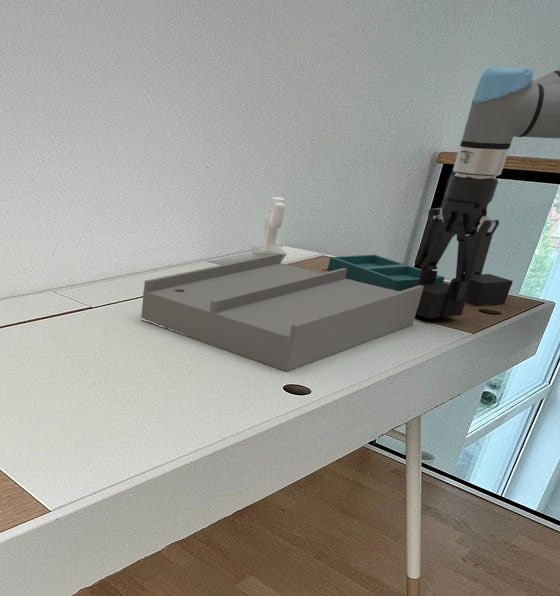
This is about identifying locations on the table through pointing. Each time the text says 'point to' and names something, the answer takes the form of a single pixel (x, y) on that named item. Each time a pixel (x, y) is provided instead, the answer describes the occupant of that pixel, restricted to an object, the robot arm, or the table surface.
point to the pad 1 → (436, 300)
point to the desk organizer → (277, 310)
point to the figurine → (271, 230)
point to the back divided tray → (379, 271)
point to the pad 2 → (488, 290)
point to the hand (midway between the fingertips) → (433, 310)
